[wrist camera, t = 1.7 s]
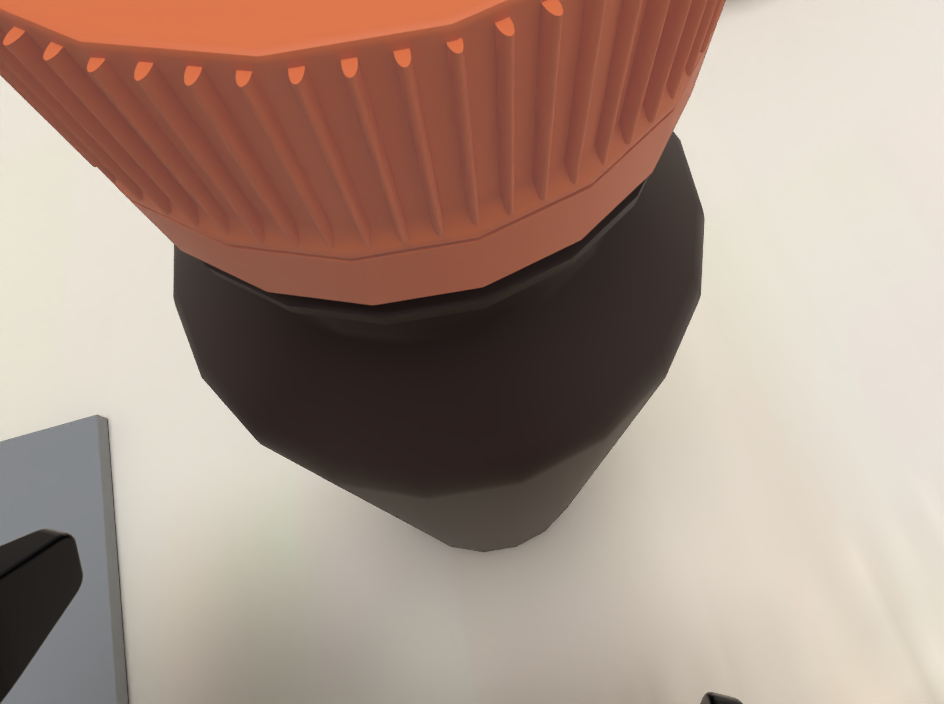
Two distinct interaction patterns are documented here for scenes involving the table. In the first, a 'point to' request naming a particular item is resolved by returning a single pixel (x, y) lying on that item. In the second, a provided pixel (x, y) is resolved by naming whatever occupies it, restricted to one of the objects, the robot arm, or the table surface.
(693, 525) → the table surface
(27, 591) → the robot arm
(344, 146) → the vinegar
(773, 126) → the table surface
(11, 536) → the slate coaster
